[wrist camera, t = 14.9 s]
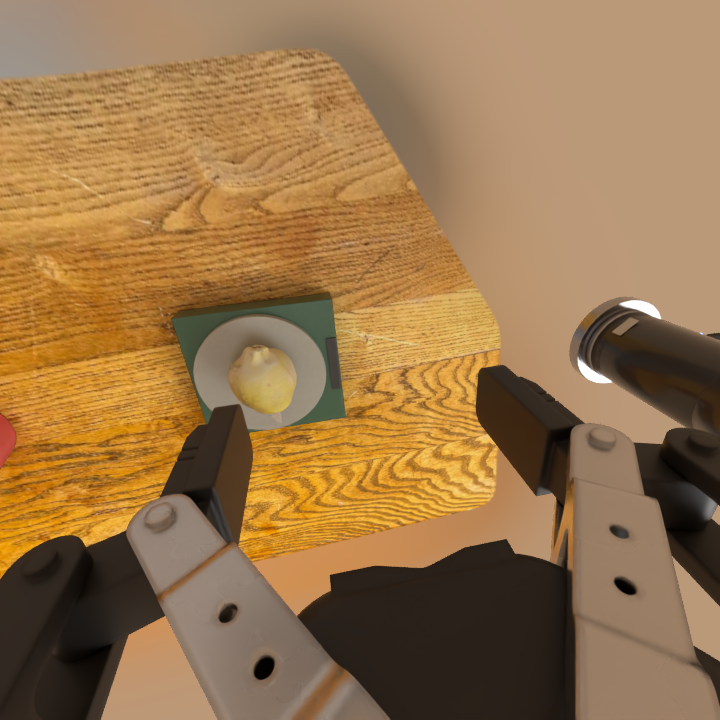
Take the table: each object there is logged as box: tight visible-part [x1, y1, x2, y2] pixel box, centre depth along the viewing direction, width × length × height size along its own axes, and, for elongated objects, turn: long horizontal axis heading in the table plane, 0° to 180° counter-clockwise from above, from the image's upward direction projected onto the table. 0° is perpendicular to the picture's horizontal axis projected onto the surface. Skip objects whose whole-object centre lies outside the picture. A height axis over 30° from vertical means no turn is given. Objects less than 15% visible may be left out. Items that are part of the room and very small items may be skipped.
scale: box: [171, 293, 346, 433], centre depth 37 cm, size 15×14×3 cm
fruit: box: [228, 345, 297, 423], centre depth 34 cm, size 6×6×10 cm
